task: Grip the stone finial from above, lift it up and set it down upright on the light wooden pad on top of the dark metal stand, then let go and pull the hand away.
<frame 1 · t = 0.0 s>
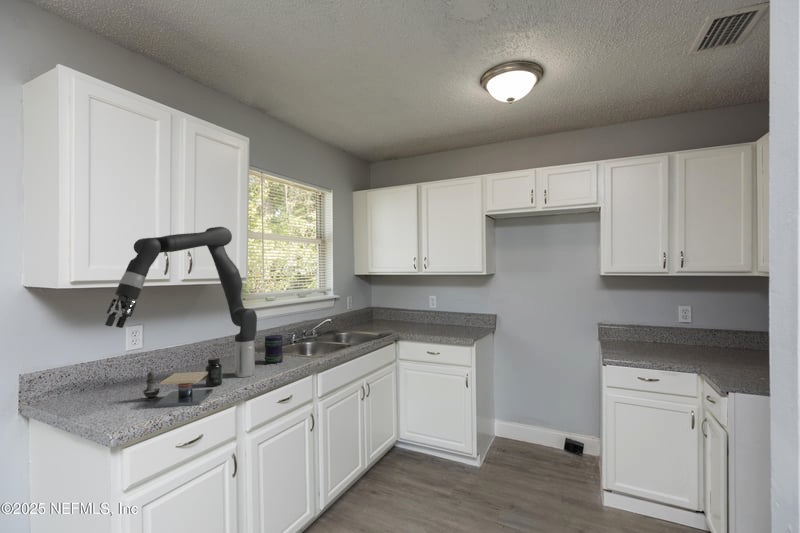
hand: (113, 326, 142), 31 cm above the worktop, tool tilted 20°, fingers open, 8 cm apart
stand: (185, 399, 154), on the worktop
stone finial: (151, 399, 155), on the worktop
supplement bottle: (213, 385, 174), on the worktop
storage jar: (273, 363, 215), on the worktop
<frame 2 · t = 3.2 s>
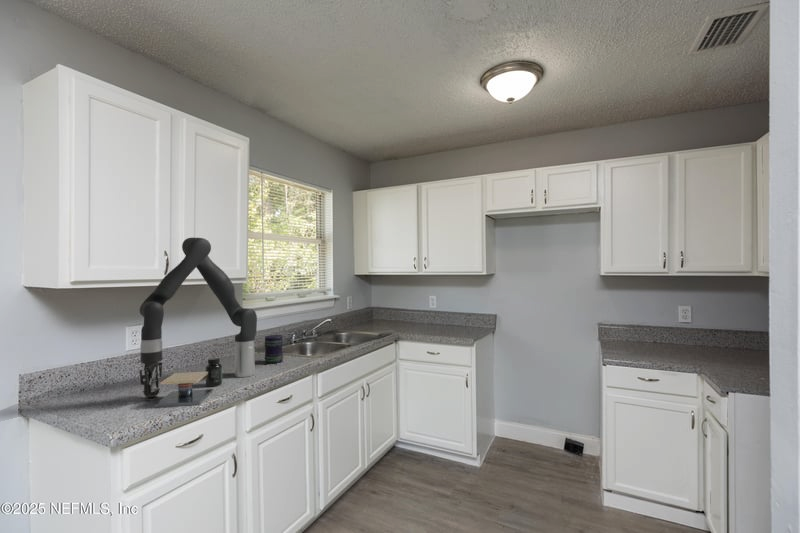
hand: (151, 391, 155), 3 cm above the worktop, tool pointing down, fingers closed on stone finial, 6 cm apart
stone finial: (151, 399, 155), on the worktop, touching gripper
everything else where it was.
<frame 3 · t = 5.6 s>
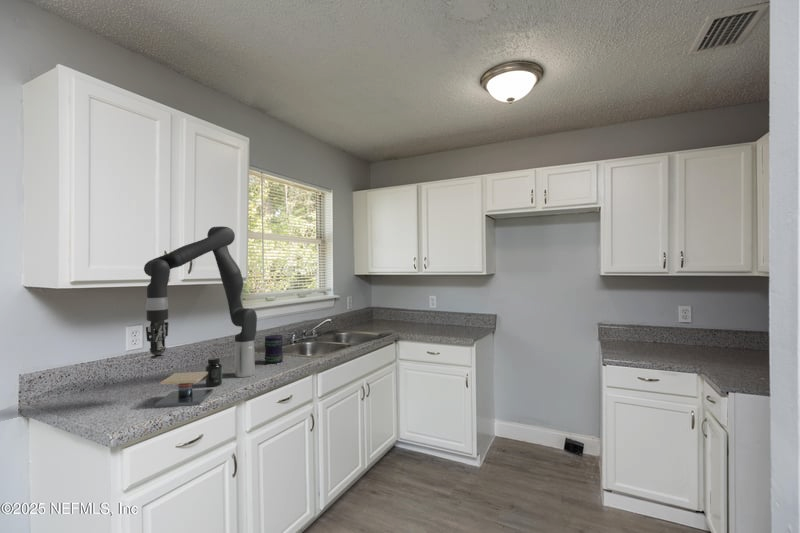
hand: (157, 349, 156), 20 cm above the worktop, tool pointing down, fingers closed on stone finial, 6 cm apart
stone finial: (157, 357, 156), point 17 cm above the worktop, touching gripper
everything else where it was.
when the fingers open (13 cm above the worktop, at t = 8.1 s): stone finial drops 1 cm, resting on stand.
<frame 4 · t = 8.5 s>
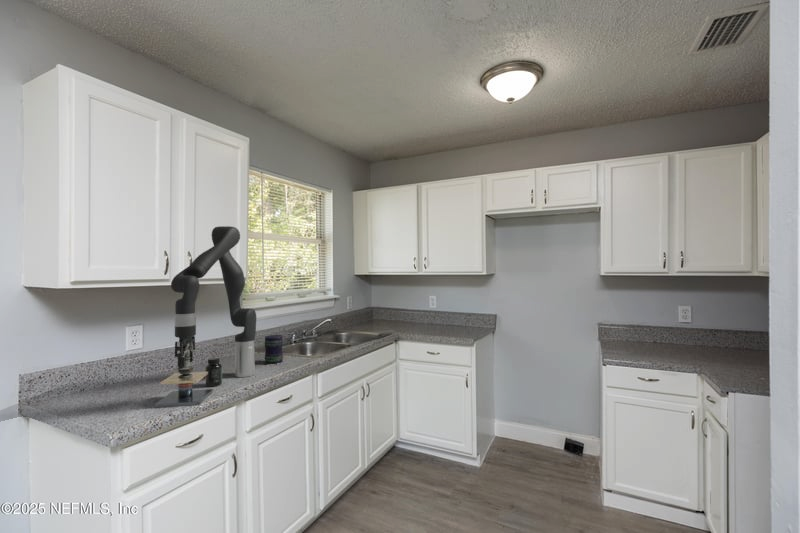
hand: (185, 364, 154), 14 cm above the worktop, tool pointing down, fingers open, 8 cm apart
stone finial: (185, 376, 155), point 9 cm above the worktop, touching stand
everything else where it was.
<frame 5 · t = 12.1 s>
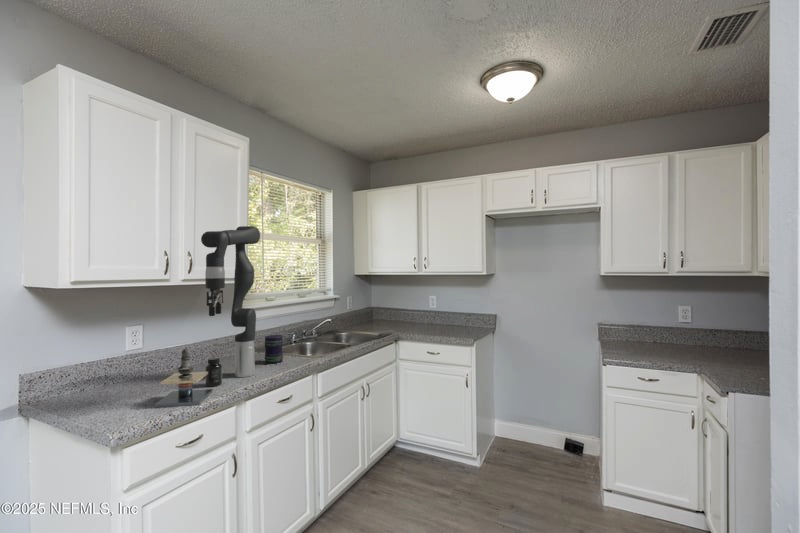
hand: (215, 314, 164), 33 cm above the worktop, tool pointing down, fingers open, 8 cm apart
nothing on the worktop moved.
at the end: stone finial inside the target area on the stand (0.1 cm from its centre), point 9.0 cm above the stand's base; stone finial tilted 0°; the gripper is holding nothing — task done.
